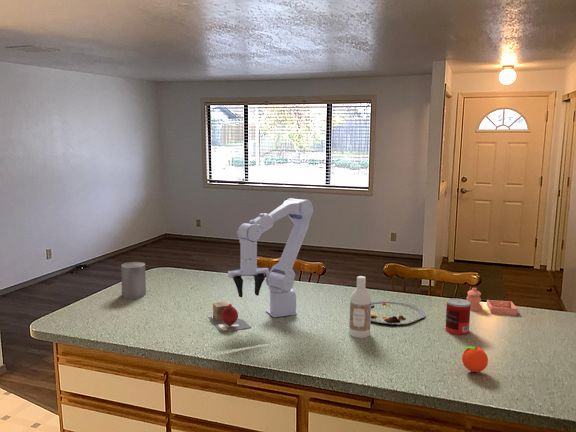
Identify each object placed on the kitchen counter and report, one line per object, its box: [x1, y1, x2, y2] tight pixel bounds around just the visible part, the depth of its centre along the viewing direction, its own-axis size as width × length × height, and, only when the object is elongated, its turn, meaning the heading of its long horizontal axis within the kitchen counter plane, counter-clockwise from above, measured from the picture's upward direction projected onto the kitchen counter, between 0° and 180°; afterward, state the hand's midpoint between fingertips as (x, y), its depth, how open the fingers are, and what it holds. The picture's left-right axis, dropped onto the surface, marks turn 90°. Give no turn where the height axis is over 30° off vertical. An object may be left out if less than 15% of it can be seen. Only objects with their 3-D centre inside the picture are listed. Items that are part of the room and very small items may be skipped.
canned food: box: [445, 297, 471, 336], centre depth 171 cm, size 8×8×11 cm
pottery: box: [466, 287, 518, 316], centre depth 192 cm, size 18×10×10 cm, turn 78°
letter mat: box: [207, 317, 252, 333], centre depth 180 cm, size 11×18×1 cm, turn 24°
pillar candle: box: [120, 261, 147, 299], centre depth 209 cm, size 10×10×15 cm
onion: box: [221, 303, 239, 326], centre depth 175 cm, size 6×6×8 cm
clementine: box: [458, 346, 489, 373], centre depth 142 cm, size 8×7×7 cm
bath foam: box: [348, 275, 372, 339], centre depth 168 cm, size 7×7×20 cm
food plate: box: [371, 300, 426, 326], centre depth 188 cm, size 25×23×4 cm
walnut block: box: [212, 301, 230, 320], centre depth 184 cm, size 5×5×5 cm
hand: (248, 295), depth 177 cm, fingers open, 5 cm apart
